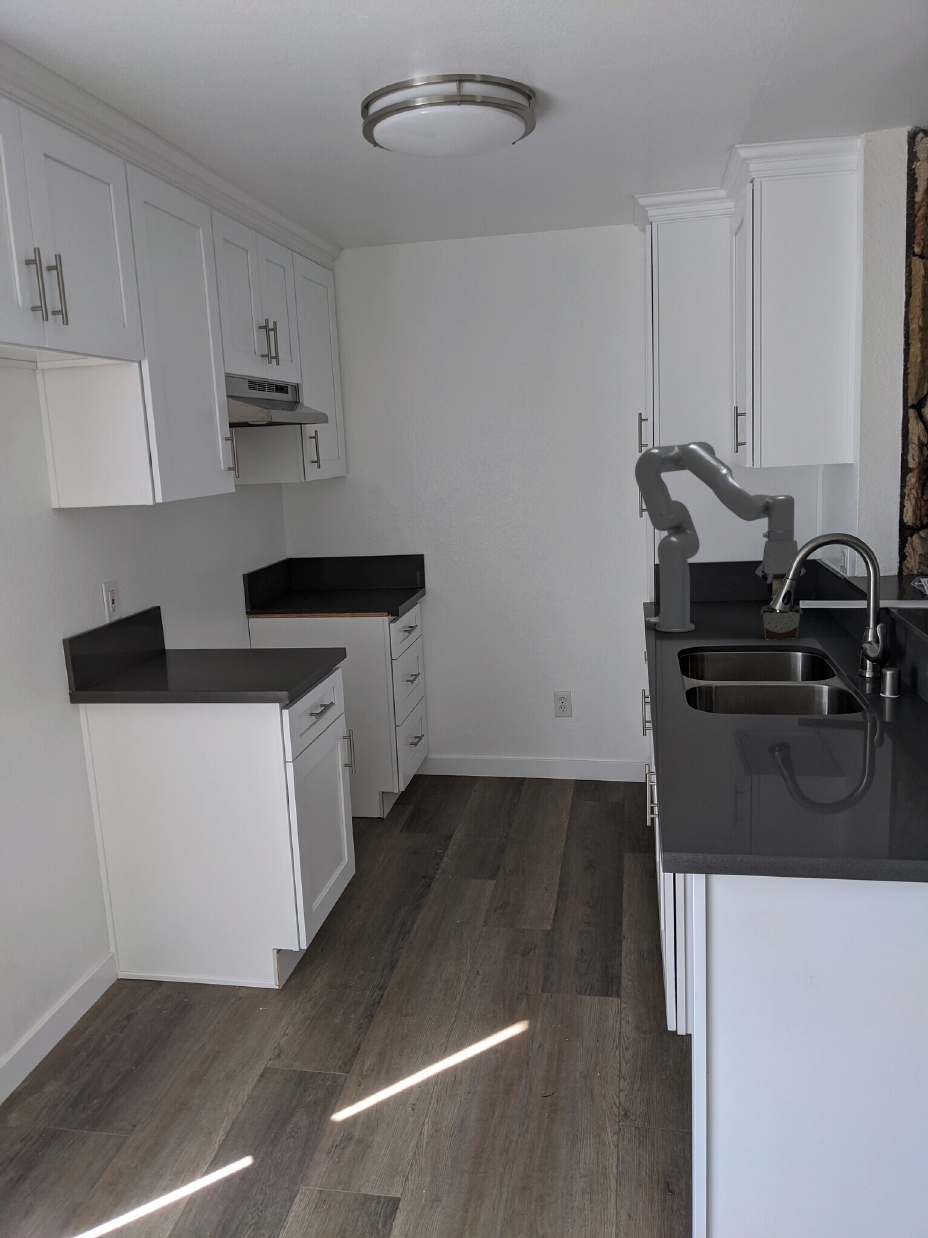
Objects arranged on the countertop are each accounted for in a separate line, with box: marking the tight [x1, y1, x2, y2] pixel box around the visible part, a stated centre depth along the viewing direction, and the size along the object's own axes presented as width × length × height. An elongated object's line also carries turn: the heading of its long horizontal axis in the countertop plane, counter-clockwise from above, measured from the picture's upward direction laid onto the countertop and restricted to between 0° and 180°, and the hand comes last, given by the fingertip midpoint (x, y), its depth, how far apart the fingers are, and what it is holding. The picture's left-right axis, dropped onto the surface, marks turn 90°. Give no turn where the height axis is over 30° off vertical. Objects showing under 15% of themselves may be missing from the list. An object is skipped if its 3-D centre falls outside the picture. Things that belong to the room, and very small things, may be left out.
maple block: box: [770, 578, 785, 599], centre depth 286 cm, size 5×5×5 cm
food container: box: [760, 604, 803, 640], centre depth 288 cm, size 12×6×10 cm, turn 84°
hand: (779, 594), depth 286 cm, fingers closed on maple block, 5 cm apart
